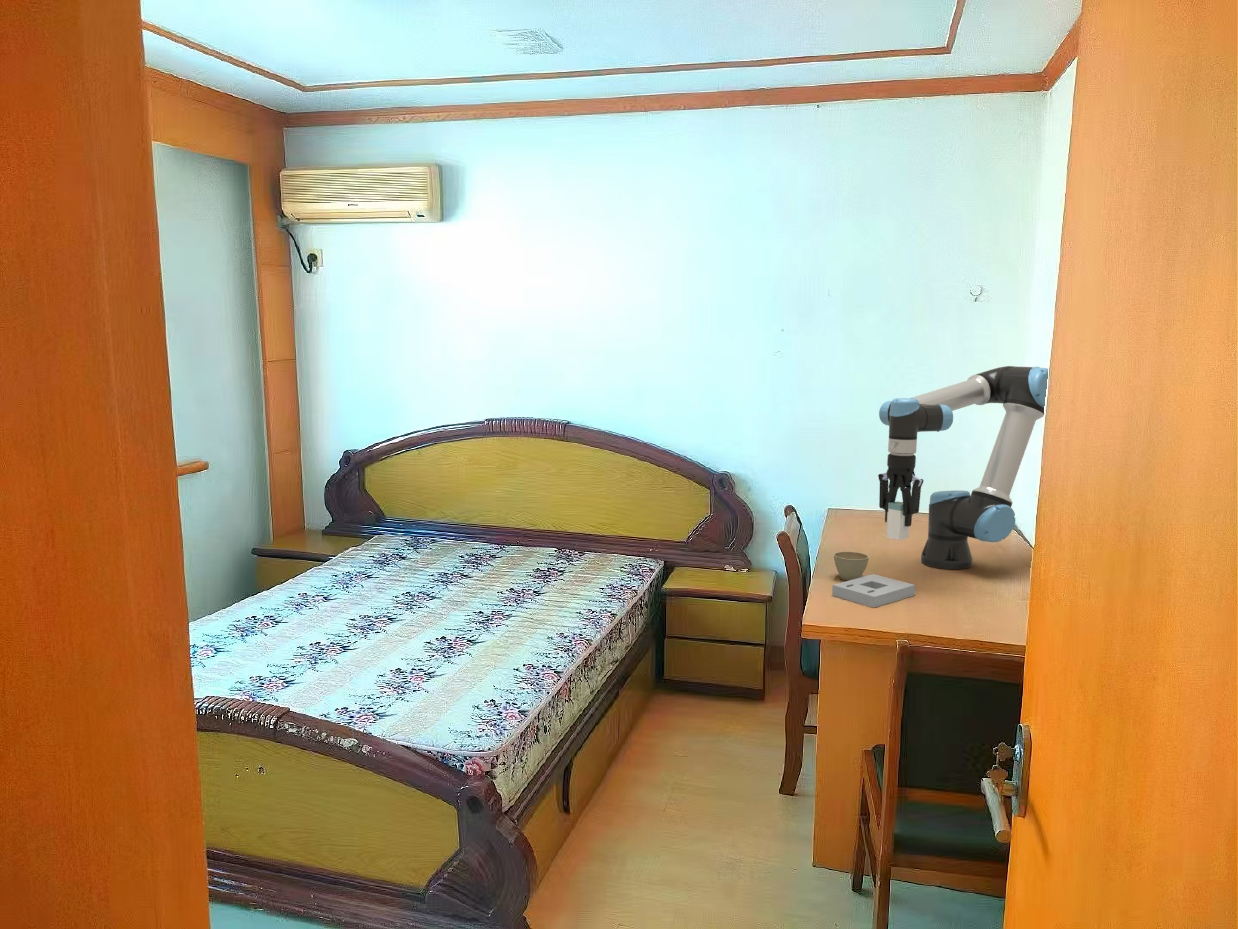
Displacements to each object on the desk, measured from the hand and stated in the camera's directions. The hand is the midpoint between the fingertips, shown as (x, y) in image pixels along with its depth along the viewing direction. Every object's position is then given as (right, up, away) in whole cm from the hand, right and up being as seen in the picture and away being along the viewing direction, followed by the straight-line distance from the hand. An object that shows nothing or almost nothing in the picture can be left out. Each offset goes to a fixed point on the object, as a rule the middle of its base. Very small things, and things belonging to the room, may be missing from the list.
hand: (897, 535), depth 251 cm
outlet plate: (-8, -16, -5) cm, 19 cm away
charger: (0, -1, 0) cm, 1 cm away
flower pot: (-10, -14, +11) cm, 21 cm away
